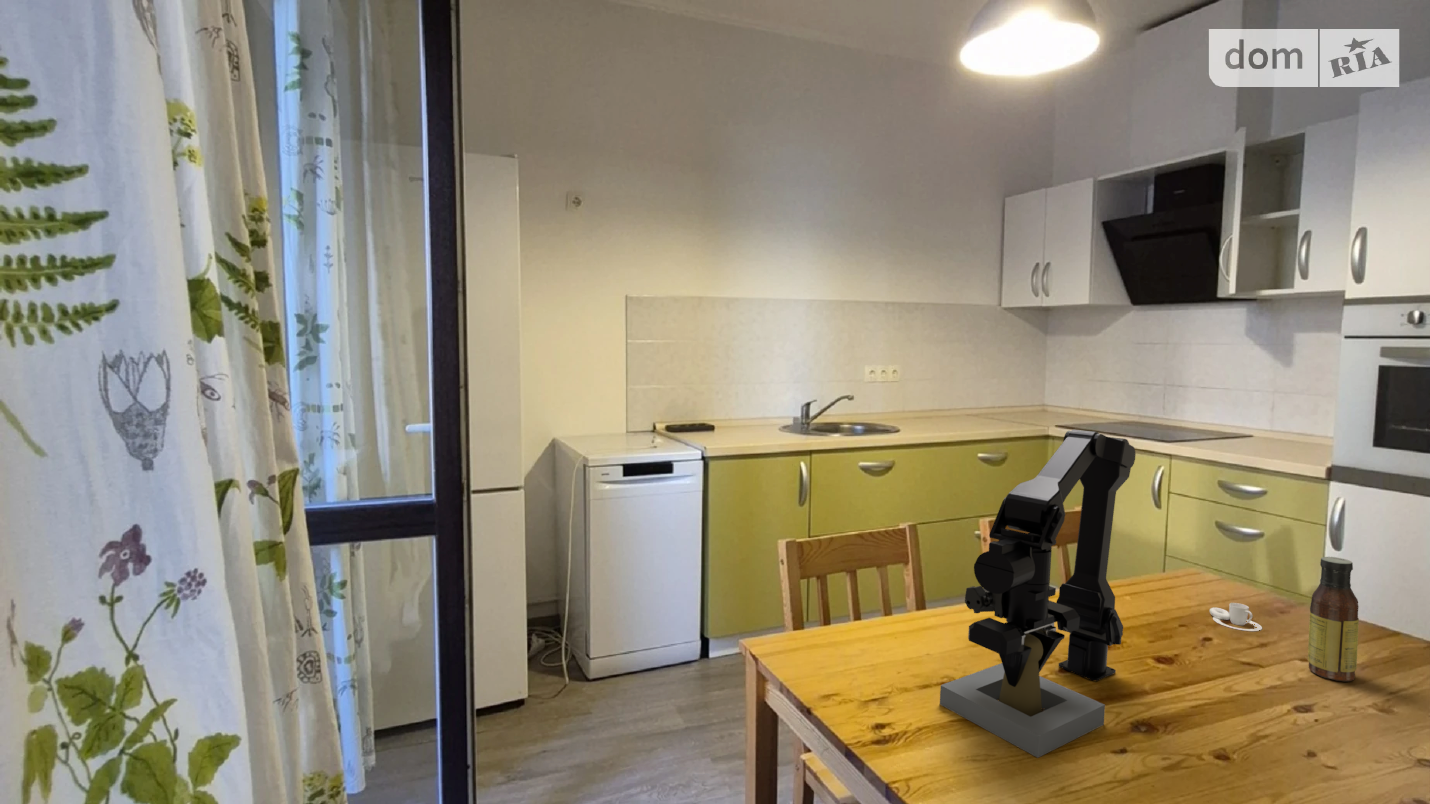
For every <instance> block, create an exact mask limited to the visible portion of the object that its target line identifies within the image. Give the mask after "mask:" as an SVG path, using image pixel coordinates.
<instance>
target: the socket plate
mask: <svg viewBox="0 0 1430 804" xmlns="http://www.w3.org/2000/svg"><path fill="white" fill-rule="evenodd" d="M1004 672H1005V671H1004V668H1003V664H1002V662H1001V663H998V664H996V665H993V666H990V667H986V668H985V669H981V670H978V671H976V672H974V673H970V674H968V675H965V676H962V677H959V678H957V679H954V680H952V681H948V682H945V683H943V684H941V685H940V692H939V705H940V706H941V707H944V708H946V709H947V710H949V711H951V712H953V713H955V714H957V715H958V716H960V717H962V718H964V719H965V720H968V721H969V722H972V723H973V724H975V725H977V726H979V727H981V728H983V729H984V730H986V731H988V732H990V733H991V734H993V735H995V736H997V737H998V738H1000V739H1003V740H1004V741H1006V742H1007V743H1009V744H1012V745H1013V746H1016V747H1018V748H1019V749H1021V750H1023V751H1024V752H1026V753H1027V754H1030V755H1031V756H1033V757H1036V758H1037V759H1038V758H1040V757H1043V756H1044V755H1046V754H1048V753H1050V752H1052V751H1054V750H1056V749H1058V748H1060V747H1062V746H1064V745H1066V744H1068V743H1071V742H1072V741H1074V740H1076V739H1078V738H1079V737H1082V736H1085V735H1086V734H1088V733H1090V732H1092V731H1094V730H1096V729H1098V728H1100V727H1102V726H1104V724H1105V713H1106V712H1105V709H1106V704H1104V703H1102V702H1100V701H1098V700H1095V699H1093V698H1091V697H1088V696H1086V695H1084V694H1081V693H1079V692H1077V691H1075V690H1073V689H1070V688H1068V687H1066V686H1063V685H1061V684H1058V683H1056V682H1054V681H1052V680H1049V679H1048V678H1046V677H1043V676H1041V675H1039V678H1040V690H1041V702H1042V712H1040V713H1038V714H1036V715H1034V716H1031V717H1030V716H1028V715H1026V714H1024V713H1022V712H1020V711H1018V710H1016V709H1014V708H1012V707H1010V706H1008V705H1006V704H1004V703H1002V702H1000V701H999V696H1000V691H1001V686H1002V681H1003V677H1004Z"/></svg>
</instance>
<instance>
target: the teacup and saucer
mask: <svg viewBox="0 0 1430 804" xmlns="http://www.w3.org/2000/svg"><path fill="white" fill-rule="evenodd" d="M1209 614H1210V615H1211V616H1212V620H1213V621H1214V622H1216V623H1217V624H1218V625H1221V626H1224V627H1227V628H1230V629H1232V630H1233V629H1234V630H1239V631H1245V632H1260V631H1263V627H1262V625H1260V624H1259V623H1257V622H1255V621H1252V619H1253V618H1254V616H1253V613H1252V612H1251V611H1250V607H1249V606H1248V605H1246V604H1243V603H1240V602H1239V603H1238V602H1230V603H1229V609H1228V610H1226V609H1223V608H1220V607H1210V608H1209ZM1248 615H1249V616H1248ZM1248 617H1249V619H1248ZM1221 620H1222V621H1229V620H1230V622H1231V624H1233V625H1235V626H1231V625H1228V624H1226V623H1224V622H1222V621H1221ZM1246 621H1247V622H1246ZM1248 623H1249V624H1250V625H1252V624H1253V625H1252V626H1254V627H1253V628H1254V629H1253V628H1241V627H1242V626H1245V625H1247V624H1248ZM1254 624H1255V625H1254ZM1236 626H1241V627H1236ZM1255 627H1257V628H1255ZM1259 630H1260V631H1259Z"/></svg>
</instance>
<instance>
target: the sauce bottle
mask: <svg viewBox="0 0 1430 804" xmlns="http://www.w3.org/2000/svg"><path fill="white" fill-rule="evenodd" d="M1319 563H1320V567H1321V572H1320V573H1321V575H1320V580H1319V582H1320V583H1319V585H1318V586H1317V587H1316V589H1315V590H1314V591H1313V593H1312V594H1311V595H1312V596H1311V601H1310V607H1309V622H1308V626H1309V627H1308V645H1307V646H1308V647H1307V661H1308V669H1309V670H1310V672H1311V673H1313V674H1315V675H1317V676H1319V677H1321V678H1324V679H1329V680H1333V681H1337V682H1345V683H1346V682H1352V681H1354V680H1355V677H1356V671H1357V663H1358V662H1357V661H1358V645H1359V644H1358V643H1359V624H1360V623H1359V622H1360V620H1359V619H1360V618H1359V600H1358V598H1357V597H1356V594H1355V593H1354V591H1353V590H1352V588H1351V586H1352V584H1351V575H1352V574H1351V573H1352V571H1353V570H1354V567H1353V565H1354V564H1353V562H1352V560H1349V559H1346V558H1341V557H1335V556H1323V557H1321V558H1320V562H1319Z"/></svg>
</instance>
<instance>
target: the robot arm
mask: <svg viewBox="0 0 1430 804" xmlns="http://www.w3.org/2000/svg"><path fill="white" fill-rule="evenodd" d="M1135 462H1136V449H1135V447H1134V446H1133V445H1131V444H1130V443H1129V440H1128V439H1126V438H1121V437H1111V436H1106V435H1104V434H1103V433H1099V432H1098V431H1091V430H1083V429H1081V430H1080V429H1072V430H1067V431H1066V433H1065V434H1064V436H1063V441H1062V443H1061V444H1060V445H1059V446H1058V448H1057V450H1056V451H1055V452H1054V453H1053V455H1052V456H1051V457H1050V458H1049V460H1048V461H1047V462H1046V464H1044V466H1043V467H1042V469H1041V470H1040V471H1039V473H1038V474H1037V475H1036V476H1035V477H1034V478H1032V479H1030V480H1026V481H1023V482H1020V483H1019V484H1018V485H1016V486H1015V487H1014V488H1013V489H1012V490H1011V491H1009V493H1007V495H1006V496H1005V497H1004V498H1003V500H1002V502H1001V505H1000V507H999V509H998V511H997V515H996V516H995V520H994V521H993V524H992V527H991V530H990V531H989V535H988V537H989V538H991V539H994V540H995V541H994V540H993V541H991V542H989V543H988V550H987V551H985V552H982V553H980V554H979V555H978V557H977V558H976V560H975V563H974V565H973V573H974V575H975V579H976V581H977V582H978V584H979V586H973V585H972V586H970V587H966V589H965V595H964V603H965V604H966V607H967V608H968V609H969V610H973V614H980V613H983V612H984V613H985V612H986V613H987V612H991V613H992V612H994V617H996V618H999V619H1005V621H1006V622H1001V621H1000V620H996V619H994V618H991V617H986V618H984V619H981V620H980V619H979V620H978V621H973V622H972V623H971V624H970V625H968V633H967V634H968V636H967V638H968V641H969V642H971V643H973V644H976V645H977V646H980V647H983V648H985V649H987V650H990V651H992V652H993V653H996V654H998V656H999V658H1000V660H1001V663H1002V664H1003V668H1004V671H1005V674H1006V678H1007V681H1008V684H1009V685H1011V686H1013V687H1016V685H1017V684H1018V682H1019V680H1020V678H1021V675H1022V673H1023V670H1024V667H1025V665H1026V662H1027V660H1028V657H1029V655H1030V652H1031V649H1032V648H1030V647H1028V646H1025V645H1024V637H1025V636H1026V633H1027V634H1031V635H1033V636H1035V637H1037V638H1038V639H1039V640H1040V641H1041V643H1042V646H1043V655H1042V658H1041V659H1040V660H1039V661H1038V665H1039V673H1040V672H1041V671H1042V669H1043V668H1044V666H1045V664H1046V663H1047V662H1048V660H1049V659H1050V657H1051V655H1052V654H1053V653H1054V651H1055V649H1056V648H1057V647H1058V645H1060V643H1061V642H1062V640H1064V639H1065V634H1064V633H1061V632H1059V631H1063V632H1067V633H1069V636H1068V647H1067V659H1066V660H1062V661H1061V662H1058V667H1060V668H1061V669H1064V670H1066V671H1069V672H1071V673H1074V674H1076V675H1079V676H1081V677H1083V678H1085V679H1088V680H1091V681H1092V682H1097V681H1100V680H1102V679H1105V678H1108V677H1109V676H1112V675H1114V674H1115V673H1116V671H1117V670H1116V669H1115V668H1112V667H1110V666H1107V663H1108V651H1109V650H1108V649H1109V647H1112V645H1121V644H1122V636H1123V635H1124V632H1123V631H1124V625H1123V623H1122V621H1121V619H1120V616H1119V615H1118V614H1119V613H1118V611H1117V610H1116V609H1115V608H1116V606H1115V605H1116V595H1115V593H1114V592H1113V590H1112V588H1111V585H1110V584H1109V581H1108V580H1107V574H1108V565H1109V555H1110V548H1111V547H1110V546H1111V537H1112V531H1113V521H1114V511H1115V504H1116V495H1117V491H1118V490H1119V489H1120V488H1121V487H1122V486H1123V484H1125V483H1126V482H1127V480H1128V479H1129V478H1130V474H1131V470H1132V469H1131V468H1132V467H1133V466H1134V465H1135ZM1078 482H1080V483H1081V485H1082V488H1083V491H1082V500H1081V501H1082V502H1081V508H1080V516H1079V525H1078V526H1079V527H1078V536H1077V544H1076V550H1075V551H1076V552H1075V559H1074V560H1075V561H1074V569H1073V574H1072V575H1071V577H1069V578H1068V580H1067V581H1066V582H1065V583H1064V582H1063V583H1061V585H1060V587H1059V591H1058V597H1057V599H1056V602H1055V601H1052V600H1049V599H1050V598H1051V597H1053V596H1056V587H1053V586H1050V584H1051V583H1050V581H1051V567H1052V566H1051V565H1052V564H1051V563H1052V553H1053V552H1052V546H1055V545H1056V544H1057V540H1056V539H1057V537H1058V535H1059V533H1060V530H1061V529H1062V527H1063V524H1064V522H1065V519H1066V518H1065V517H1066V511H1065V506H1064V503H1065V500H1066V499H1067V497H1068V496H1069V495H1070V493H1071V491H1072V490H1073V488H1075V486H1076V484H1077V483H1078ZM1007 527H1008V528H1007ZM996 540H998V541H996ZM1055 623H1057V624H1056V625H1057V627H1056V626H1055ZM1057 630H1059V631H1057Z"/></svg>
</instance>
